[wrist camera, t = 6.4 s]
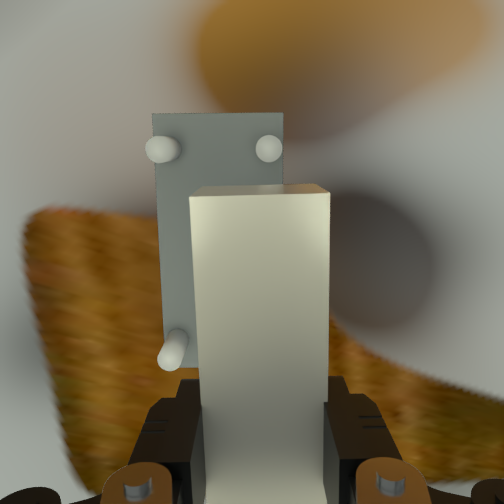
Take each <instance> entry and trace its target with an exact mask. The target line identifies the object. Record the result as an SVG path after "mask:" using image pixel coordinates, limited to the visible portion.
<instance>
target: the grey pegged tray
mask: <svg viewBox="0 0 504 504" xmlns="http://www.w3.org/2000/svg"><path fill="white" fill-rule="evenodd" d="M152 123H153V137H152V138H150V139H149V140H148V141H147V143H146V146H145V152H146V155H147V157H148V158H149V159H150V160H151V161H153V162H155V179H156V198H157V216H158V235H159V253H160V272H161V291H162V309H163V328H164V344H163V347H162V349H161V351H160V353H159V355H158V359H157V360H158V364H159V366H160V367H161V368H162V369H164V370H166V371H174V370H176V369H177V368H179V367H199V362H198V344H197V326H196V309H195V291H194V274H193V256H192V239H191V221H190V203H189V196H191V195H192V194H193V193H194V192H196V191H197V190H198V189H199V188H201V187H202V186H239V185H276V184H283V113H181V114H180V113H179V114H178V113H177V114H176V113H175V114H152Z"/></svg>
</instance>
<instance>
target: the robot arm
mask: <svg viewBox="0 0 504 504" xmlns="http://www.w3.org/2000/svg"><path fill="white" fill-rule="evenodd" d="M323 485H324V489H325V494H326V499H327V504H504V480H503V479H487V480H483V481H480V482H478V483H476V484H475V485H474V486H473V488H472V491H471V498H470V497H465V496H460V495H456V494H451V493H447V492H443V491H439V490H436V489H434V488H431V487H429V486H427V484H426V481H425V478H424V477H423V475H422V474H421V473H420V472H419V471H418V470H417V469H416V468H415V467H413V466H412V465H410V464H408V463H406V462H404V461H403V460H402V457H401V455H400V453H399V451H398V449H397V447H396V445H395V443H394V441H393V439H392V436H391V434H390V432H389V430H388V428H387V427H386V424H385V422H384V420H383V418H382V415H381V413H380V411H379V409H378V407H377V405H376V403H374V402H373V401H372V400H371V399H369V398H368V397H367V396H366V395H364V394H350V393H349V391H348V388H347V386H346V383H345V381H344V378H343V376H328V402H324V429H323ZM205 490H206V471H205V453H204V435H203V418H202V405H201V397H200V379H182V380H181V382H180V385H179V388H178V391H177V394H176V398H161V399H160V400H159V401H158V402H157V403H156V404H154V405H153V406H152V407H151V408H150V410H149V412H148V415H147V417H146V420H145V423H144V425H143V427H142V430H141V433H140V435H139V437H138V440H137V442H136V445H135V447H134V450H133V452H132V455H131V457H130V460H129V462H128V465H127V466H125V467H123V468H121V469H119V470H118V471H116V472H115V473H113V474H112V475H111V476H110V477H109V478H108V480H107V481H106V483H105V484H104V487H103V491H102V494H100V495H97V496H95V497H92V498H89V499H86V500H82V501H78V502H74V503H70V504H204V497H205ZM0 504H61V499H60V496H59V495H58V493H57V492H56V491H54V490H52V489H50V488H46V487H32V488H27V489H23V490H20V491H17V492H14V493H12V494H10V495H8V496H6V497H5V498H3V499H1V500H0Z"/></svg>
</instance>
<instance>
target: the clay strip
mask: <svg viewBox="0 0 504 504" xmlns="http://www.w3.org/2000/svg"><path fill="white" fill-rule="evenodd" d="M189 203H190V221H191V239H192V256H193V274H194V291H195V309H196V326H197V344H198V362H199V379H200V397H201V405H202V418H203V435H204V453H205V471H206V502H207V504H327V499H326V494H325V489H324V485H323V429H324V402H328V336H329V246H330V245H329V244H330V238H329V237H330V193H329V192H328V191H326V190H324V189H323V188H321V187H320V186H318V185H316V184H276V185H239V186H202V187H201V188H199V189H198V190H197V191H196V192H194V193H193V194H192V195H191V196H189Z"/></svg>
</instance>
